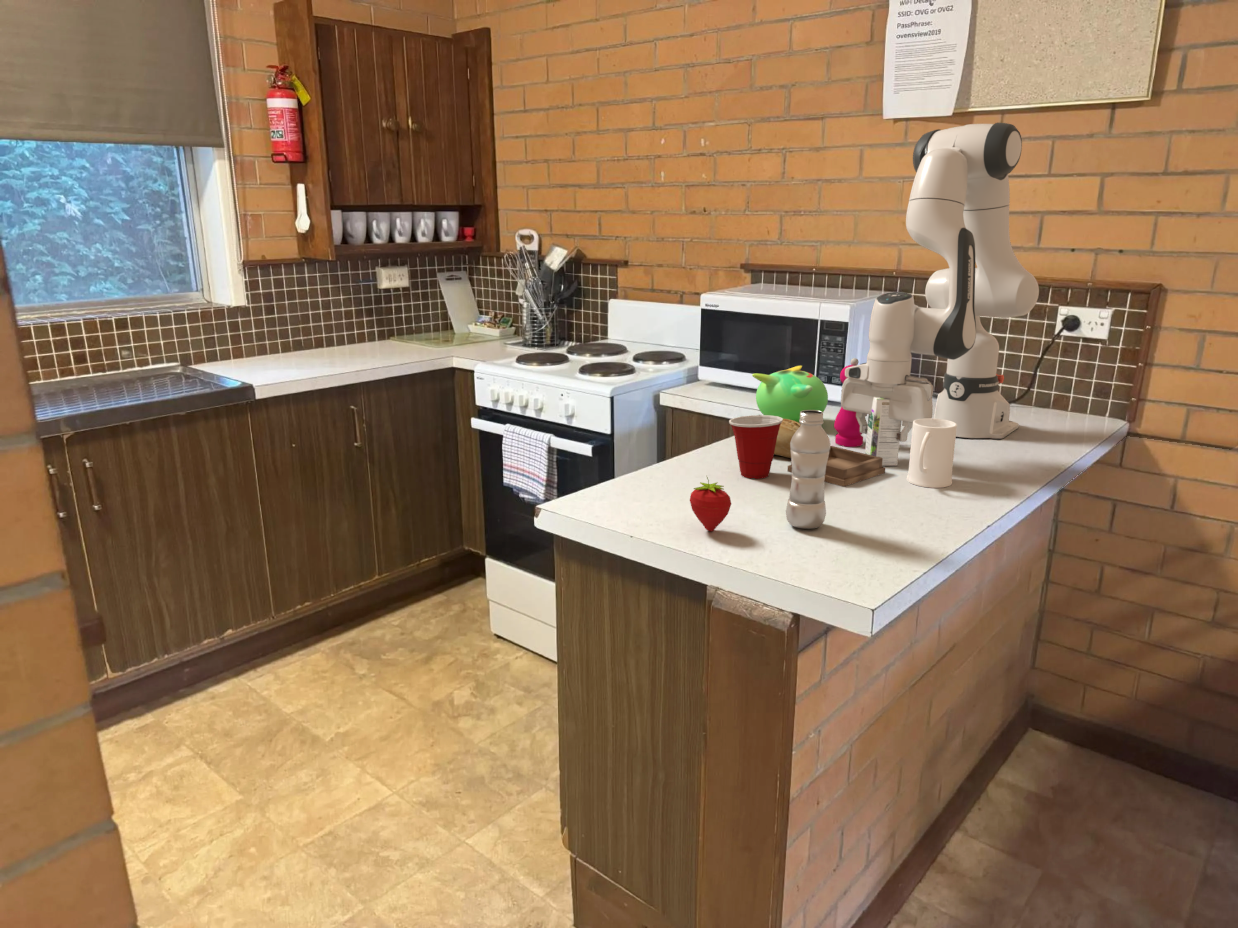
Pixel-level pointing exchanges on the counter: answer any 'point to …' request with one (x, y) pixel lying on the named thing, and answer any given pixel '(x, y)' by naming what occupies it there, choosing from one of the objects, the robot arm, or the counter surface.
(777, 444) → the bread roll
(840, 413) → the pepper mill
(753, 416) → the plastic cup
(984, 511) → the counter surface
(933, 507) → the counter surface
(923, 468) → the mug
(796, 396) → the toy bird
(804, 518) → the plastic bottle
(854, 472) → the walnut stand
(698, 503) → the strawberry
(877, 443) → the syrup box
